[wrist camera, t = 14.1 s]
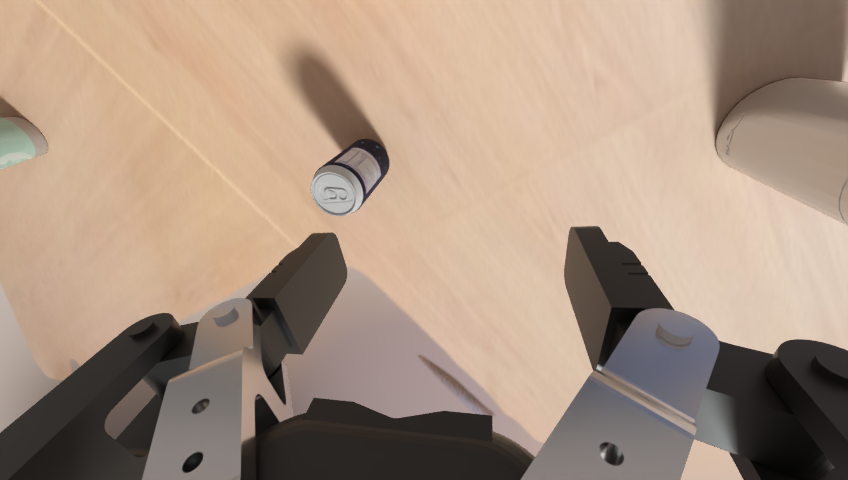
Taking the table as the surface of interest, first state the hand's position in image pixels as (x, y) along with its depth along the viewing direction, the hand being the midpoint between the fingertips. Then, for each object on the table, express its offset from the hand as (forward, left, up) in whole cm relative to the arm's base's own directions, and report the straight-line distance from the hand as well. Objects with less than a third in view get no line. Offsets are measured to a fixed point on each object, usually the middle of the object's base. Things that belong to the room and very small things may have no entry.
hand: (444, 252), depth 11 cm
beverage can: (+14, +5, -30) cm, 34 cm away
